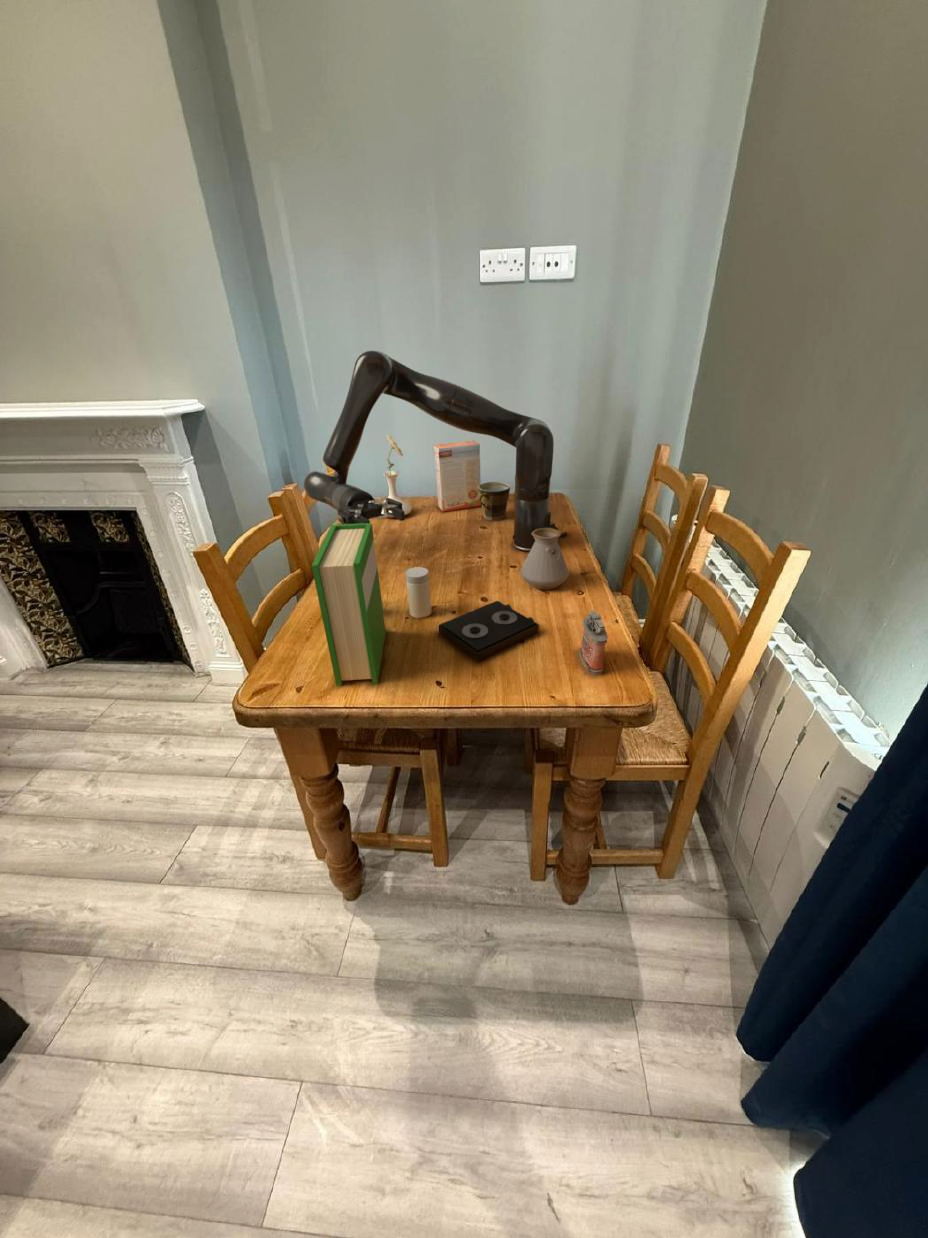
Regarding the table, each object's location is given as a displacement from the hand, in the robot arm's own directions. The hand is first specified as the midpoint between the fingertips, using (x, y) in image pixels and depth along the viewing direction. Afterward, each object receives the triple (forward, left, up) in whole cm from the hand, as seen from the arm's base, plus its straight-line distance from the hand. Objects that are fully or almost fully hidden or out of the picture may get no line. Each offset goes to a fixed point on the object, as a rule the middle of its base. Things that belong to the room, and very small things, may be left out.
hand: (386, 520), depth 111 cm
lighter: (-15, +48, -18) cm, 53 cm away
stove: (-6, +28, -18) cm, 34 cm away
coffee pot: (-28, +23, -18) cm, 40 cm away
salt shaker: (0, +11, -18) cm, 21 cm away
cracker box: (-49, -40, -18) cm, 66 cm away
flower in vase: (-29, -49, -18) cm, 60 cm away
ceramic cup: (-50, -24, -18) cm, 58 cm away
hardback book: (+18, +18, -18) cm, 31 cm away
